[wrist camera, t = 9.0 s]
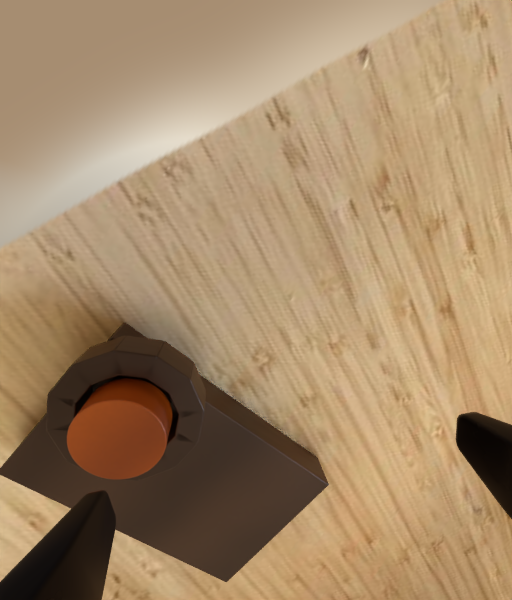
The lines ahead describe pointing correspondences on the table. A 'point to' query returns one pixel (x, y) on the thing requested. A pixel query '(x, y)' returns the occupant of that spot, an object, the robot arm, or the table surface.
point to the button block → (176, 461)
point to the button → (121, 429)
